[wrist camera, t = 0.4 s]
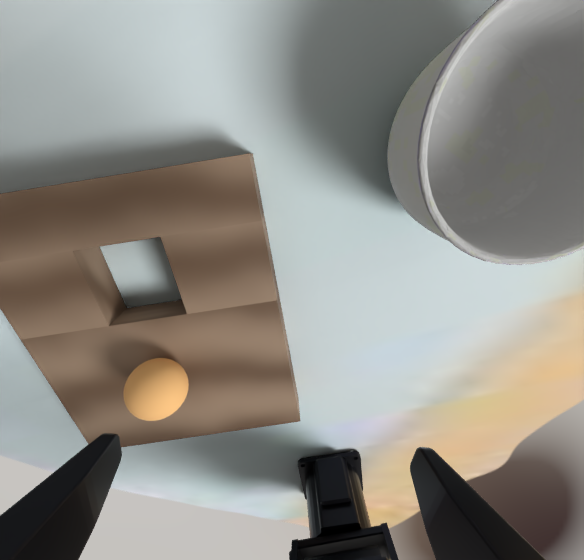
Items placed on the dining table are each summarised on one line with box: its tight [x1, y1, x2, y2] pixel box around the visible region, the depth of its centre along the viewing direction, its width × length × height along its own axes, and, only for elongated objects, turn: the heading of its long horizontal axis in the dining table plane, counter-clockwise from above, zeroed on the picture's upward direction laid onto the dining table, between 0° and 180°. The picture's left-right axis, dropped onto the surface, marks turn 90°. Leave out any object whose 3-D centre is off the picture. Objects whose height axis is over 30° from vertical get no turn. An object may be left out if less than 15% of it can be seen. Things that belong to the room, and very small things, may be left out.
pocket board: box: [0, 154, 300, 447], centre depth 21 cm, size 21×18×2 cm
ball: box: [123, 358, 189, 421], centre depth 19 cm, size 4×4×4 cm
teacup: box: [387, 0, 584, 265], centre depth 14 cm, size 14×11×8 cm
